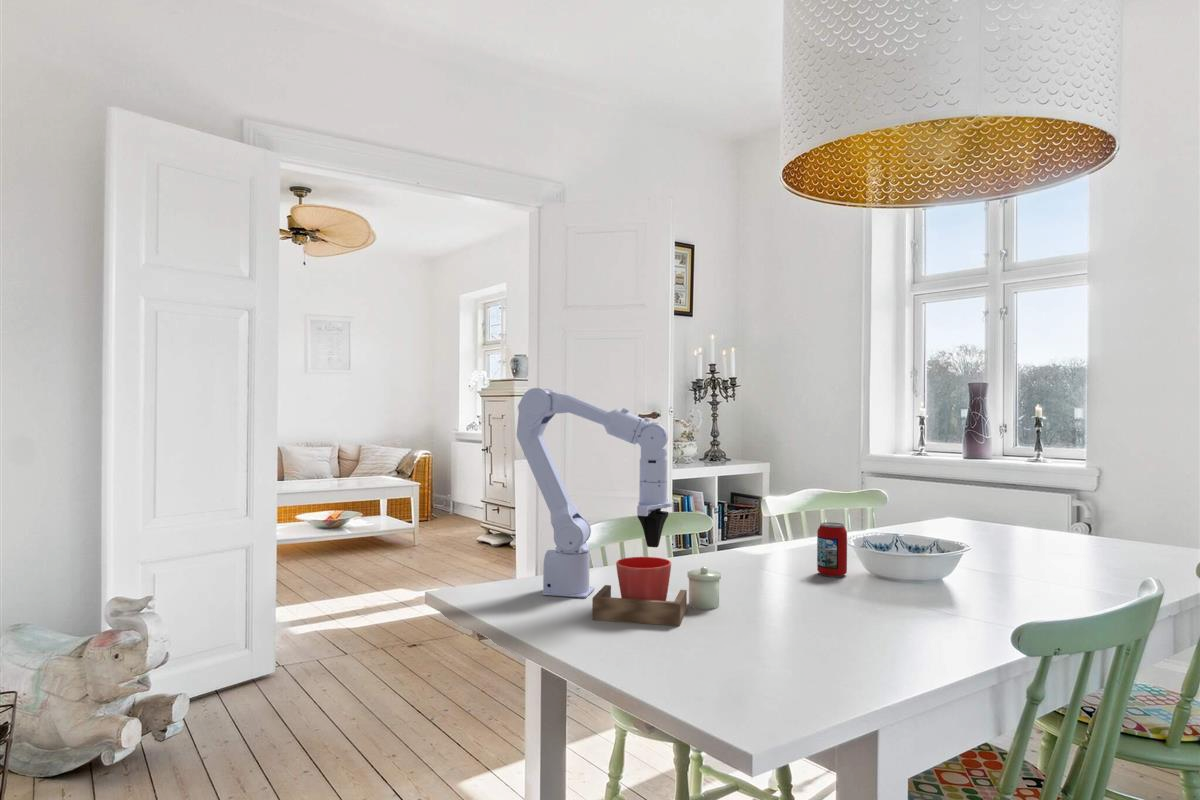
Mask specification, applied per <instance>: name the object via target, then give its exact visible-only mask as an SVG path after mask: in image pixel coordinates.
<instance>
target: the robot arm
mask: <svg viewBox="0 0 1200 800" xmlns="http://www.w3.org/2000/svg"><path fill="white" fill-rule="evenodd" d="M517 411H518V417H517V426H516V427H517V428H516V438H517V441H518V443H519V445H520V448H521V450H522V452H523V454H524V457H525V459H526V461H527V463H528V465H529V467H530V470H531V472H532V475H533V476H534V478H535V481H536V483H537V486H538V488H539V490H540V491H541V495H542V497H543V499H544V501H545V504H546V506H547V508H548V510H549V513H550V524H551V527H552V529H553V542H554V544H555V545H556V547H555V549H548V550H546V552H545V554H544V558H543V565H542V566H543V570H542V571H543V572H542V573H543V579H542V580H543V581H542V583H543V588H542V590H543V591H542V593H541V595H543V596H555V597H568V598H569V597H571V598H583V599H584V598H587V597H588V596H590V594H591V593H592V592H593V591H594V590H595V586H590V547H589V546H588V543H587V541H588V540H589V539H590V537H591V534H592V530H591V529H592V528H591V525H590V523H589V520H587V519H586V518H585V517H583V515H581V513H580V511H579V509H578V508H577V507H576V505H575V504H574V503H573V502H572V500H571V498H570V495H569V493H568V490H567V488H566V486H565V484H564V482H563V480H562V479H563V478H562V477H561V475H560V472H559V470H558V469H557V466H556V464H555V461H554V459H553V457H552V455H551V453H550V451H549V448H548V446H547V443H546V442H545V440H544V437H543V434H544V432H545V430H546V428H547V425H548V423H549V422H550V420H551V419H552V418H553V417H554V416H555V415H556V414H568V413H569V414H572V415H574V416H577V417H581V418H582V419H586V420H588V421H591V422H593V423H596V424H599V425H602V426H603V427H604V429H605V431H606V434H608V435H610V436H613V437H615V438H617V439H620V440H622V441H625V442H626V443H630V444H632V445H636V444H637V445H639V446H640V458H639V499H638V500H639V501H638V505H637V507H636V508H637V509H636V512H637V513H636V515H637V518H638V520H639V522H640V524H641V527H642V530H643V533H644V539H645V544H646V546H647V548H658V547H659V545H660V542H661V536H662V532H663V529H664V526H665V522H666V520H667V518H668V517H669V511H665V510H664V511H663V510H662V509H669V508H671V507H673V502H669V501H668V458H667V455H668V454H667V452H668V450H667V447H666V445H667V444H668V440H669V434H668V431H667V429H666V428H665V426H663V425H661V424H659V423H658V422H651V423H650V420H651V419H650V418H648V417H644V418H642V417H641V416H638V415H635V414H633V413H630V410H629V409H628V408H625V407H623V408H622V409H621V408H620V409H619V408H615V409H612V410H611V411H608V410H605V409H603V408H601V407H599V406H597V405H595V404H592V403H590V402H587V401H585V400H583V399H580V398H578V397H576V396H575V395H574V396H573V395H571V394H567V393H563V392H560V391H559V392H558V391H554V390H551V389H548V388H541V387H533V388H529V389H528V390H527V391H526V392H525V393H524V394H523V396H522V398H521V399H520V401H519V403H518V405H517Z"/></svg>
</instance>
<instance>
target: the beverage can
mask: <svg viewBox="0 0 1200 800" xmlns="http://www.w3.org/2000/svg"><path fill="white" fill-rule="evenodd" d="M816 533H817V536H816V537H817V540H816V541H817V542H816V545H817V547H816V548H817V549H816V551H817V553H816V555H817V556H816V557H817V558H816V561H817V564H816V567H817V569H816V570H817V572H818V573H819V574H820V575H822V576H825V577H829V578H831V577H832V578H840V577H843V576H845V575H846V574H847V573H848V572H847V571H848V570H847V569H848V531H847V530H846V527H845V525H844V524H843V523H841V522H840V523H839V522H831V521H829V522H826V521H825V522H820V525H819V527H818V528H817V532H816Z"/></svg>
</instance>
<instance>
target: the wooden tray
mask: <svg viewBox="0 0 1200 800" xmlns="http://www.w3.org/2000/svg"><path fill="white" fill-rule="evenodd" d="M687 594H688V593H687V589H679V591H678V593H677V595H676V598H675V599H674V600H666V601H658V600H642V599H627V598H621V597H612V585H610V584H604V586H602V588H601V589H600V590H598V591H597V592H596V594H594V596H593V597H592V602H591V603H592V607H591V608H592V610H591V611H592V615H591V616H592V617H591V618H592V619H591V620H593V621H605V622H617V623H619V622H621V623H622V622H623V623H633V624H634V623H635V624H647V625H648V624H649V625H660V626H661V625H663V626H675V627H676V626H677V627H680V626H681V624H682V622H683V620H684V618H685V615H686V613H687V605H688V603H687V602H688V601H687V598H688V597H687V596H688V595H687Z"/></svg>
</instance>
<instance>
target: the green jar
mask: <svg viewBox="0 0 1200 800" xmlns="http://www.w3.org/2000/svg"><path fill="white" fill-rule="evenodd" d="M686 574H687V575H686V576H687V578H688V606H689V608H692V609H697V610H715V609H718V608H719V607H720V580H721V579H722V574H721V572H719V571H717V570H710V569H708V567H706V566H701V567H700V569H694V570H689V571H687V573H686Z"/></svg>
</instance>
